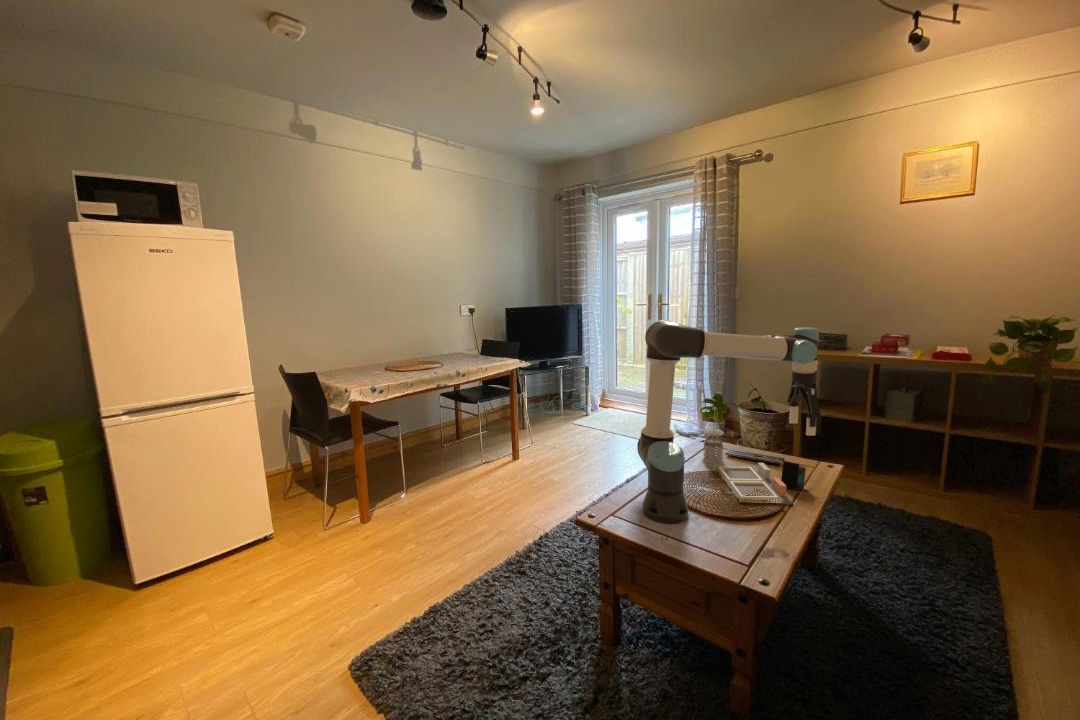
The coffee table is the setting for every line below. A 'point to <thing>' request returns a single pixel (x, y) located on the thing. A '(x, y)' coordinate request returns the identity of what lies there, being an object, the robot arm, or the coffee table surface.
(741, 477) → the dock board
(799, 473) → the speaker
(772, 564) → the coffee table surface
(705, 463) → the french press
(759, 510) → the coffee table surface
